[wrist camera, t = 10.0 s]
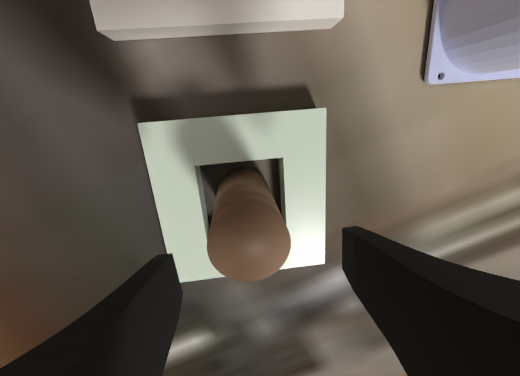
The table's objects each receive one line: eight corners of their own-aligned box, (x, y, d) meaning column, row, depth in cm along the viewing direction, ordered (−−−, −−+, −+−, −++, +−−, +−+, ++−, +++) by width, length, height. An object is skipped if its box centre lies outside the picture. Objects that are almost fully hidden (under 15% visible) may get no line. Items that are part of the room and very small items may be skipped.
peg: (265, 164, 18) (287, 201, 11) (270, 212, 20) (293, 274, 12) (213, 171, 18) (199, 214, 11) (221, 218, 19) (214, 287, 12)
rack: (316, 108, 17) (326, 107, 16) (316, 249, 21) (324, 263, 19) (148, 121, 17) (137, 123, 15) (179, 267, 20) (174, 283, 18)
